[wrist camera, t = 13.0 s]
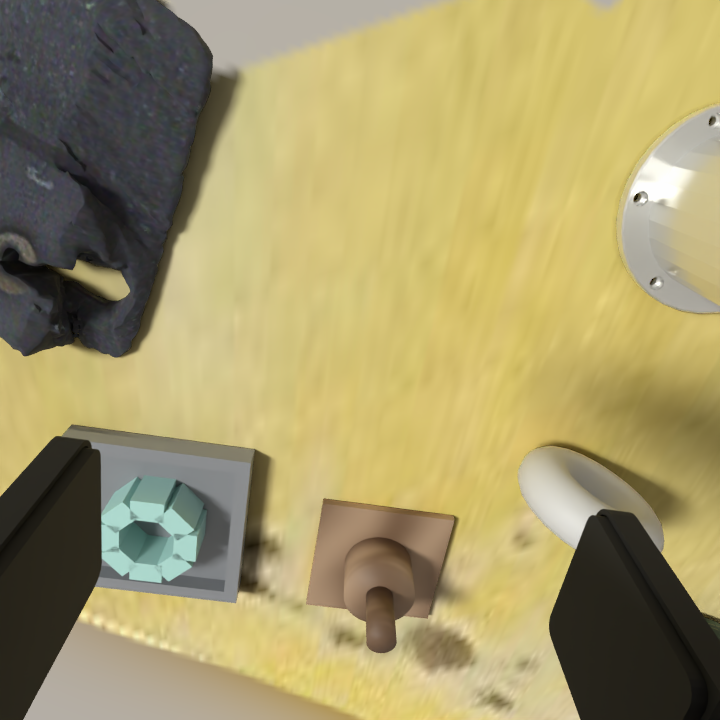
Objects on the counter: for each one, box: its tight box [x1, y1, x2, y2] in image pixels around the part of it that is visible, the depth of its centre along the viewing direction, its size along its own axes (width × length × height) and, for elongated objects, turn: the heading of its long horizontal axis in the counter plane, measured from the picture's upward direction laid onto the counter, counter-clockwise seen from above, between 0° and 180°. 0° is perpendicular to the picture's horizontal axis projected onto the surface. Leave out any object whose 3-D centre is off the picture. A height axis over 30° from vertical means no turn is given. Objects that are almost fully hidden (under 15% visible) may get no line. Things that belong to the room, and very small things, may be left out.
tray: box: [61, 425, 255, 603], centre depth 45 cm, size 13×13×2 cm
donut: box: [518, 446, 664, 552], centre depth 40 cm, size 10×4×10 cm, turn 64°
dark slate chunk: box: [0, 0, 213, 357], centre depth 34 cm, size 15×22×5 cm
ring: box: [101, 475, 207, 583], centre depth 44 cm, size 7×7×3 cm
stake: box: [306, 499, 454, 653], centre depth 44 cm, size 10×10×8 cm
